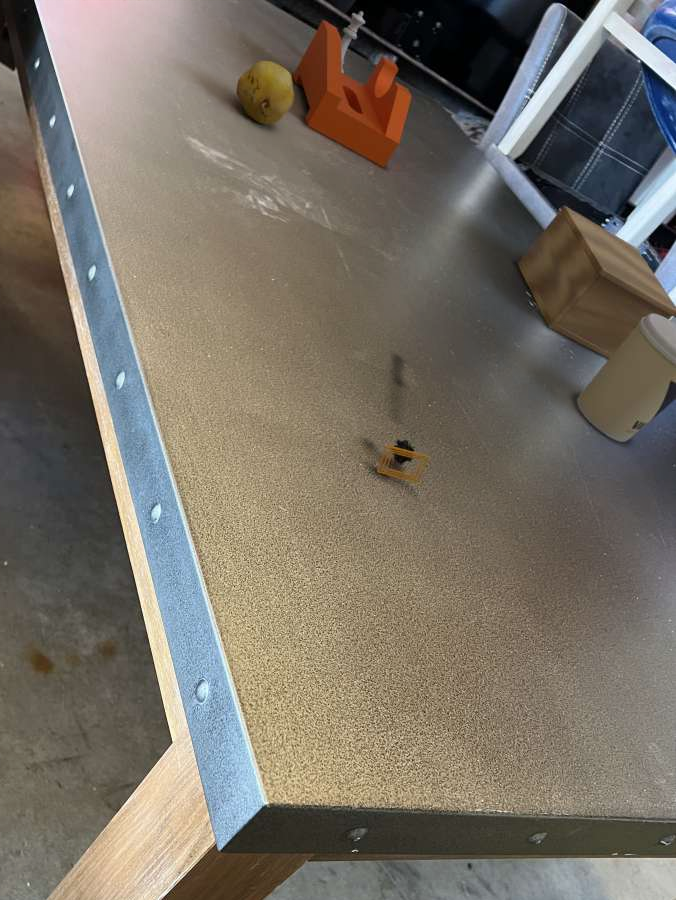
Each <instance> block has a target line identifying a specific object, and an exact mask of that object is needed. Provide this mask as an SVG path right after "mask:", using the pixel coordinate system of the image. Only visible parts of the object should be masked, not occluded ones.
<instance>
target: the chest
mask: <svg viewBox="0 0 676 900" xmlns="http://www.w3.org/2000/svg"><path fill="white" fill-rule="evenodd" d="M517 266H518V269H519V271H520V273H521V275H522V276H523V278H524V281H525V283H526V285H527V287H528V289H529V290H530V292H531V295H532V296H533V299H534V300H535V303H536V305H537V307H538V309H539V311H540V313H541V315H542V317H543V319H544V321H545V323H546V325H547V327H548V328H549V329H551V330H553V331H555V332H557V333H559V334H561V335H562V336H564V337H566V338H567V339H570V340H572V341H574V342H576V343H578V344H579V345H582V346H583V347H586V348H587V349H589V350H591V351H593V352H595V353H597V354H599V355H601V356H603V357H605V358H607V359H608V360H609V359H610V357H611V356H612V355H613V354H614V353H615V351H616V350H617V349H618V348H619V347H620V345H621V344H622V343H623V342H624V341H625V339H626V338H627V337H628V336H629V335H630V333H631V332H632V331H633V330H634V329H635V328H636V327H637V325H638V324H639V321H640V320H641V319H642V318H643V317H647V316H648V315H649V314H658V315H660V316H663V317H665V318H666V319H668V320H670V319H671V318H672V317H673V316H671V315H670V314H668V313H666V312H664V311H663V310H661V309H659V308H657V307H655V306H654V305H652V304H650V303H648V302H647V301H645V300H643V299H641V298H639V297H638V296H636V295H634V294H632V293H631V292H629V291H627V290H625V289H624V288H622V287H620V286H618V285H616V284H615V283H613V282H611V281H609V280H608V279H606V278H604V277H602V276H601V275H599V274H598V272H597V271H596V269H595V267H594V266H593V264H592V262H591V261H590V259H589V257H588V256H587V254H586V252H585V251H584V249H583V247H582V245H581V244H580V242H579V240H578V239H577V237H576V235H575V234H574V232H573V230H572V229H571V227H570V225H569V224H568V222H567V220H566V219H565V217H564V215H563V214H562V212H561V210H559V211H558V212H557V213H556V215H555V216H554V217H553V219H551V221H550V222H549V223H548V225H547V226H546V227H545V229H544V230H543V231H542V232H541V234H540V235H539V236H538V238H537V239H536V240H535V241H534V242H533V244H532V245H531V246H530V247H529V249H528V250H527V252H525V253H524V255H523V256H522V258H521V259H520V260H519V261H518V263H517Z"/></svg>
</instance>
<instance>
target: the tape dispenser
mask: <svg viewBox="0 0 676 900" xmlns="http://www.w3.org/2000/svg"><path fill="white" fill-rule="evenodd" d="M341 40H342V38H341V35H340V32H339V31H338V28H337V26H334V25H333V24H331V23H329V22H328V21H327V20H325V19H322V21H321V22H320V25H319V27H318V28H317V30H316V31H315V33H314V36H313V37H312V39H311V41H310V42H309V45H308V47H307V48H306V51H305V52H304V54H303V56H302V58H301V60H300V62H299V63H298V65H297V67H296V70H295V71H294V73H293V75H292V78H293V80H294V83H295V84H297V85H298V86H300V87H302V88H303V89H304V93H305V96H306V99H307V103H308V106H309V110H308V111H307V114H306V115H305V117H304V119H305V122H306V125H307V126H308V127H309V128H311V129H313V130H315V131H316V132H318V133H320V134H322V135H324V136H325V137H328V138H329V139H331V140H333V141H335V142H336V143H339V144H340V145H342V146H343V147H345V148H348V149H350V150H351V151H353V152H354V153H357V154H359V155H360V156H362V157H363V158H365V159H368V160H369V161H371V162H373V163H375V164H377V165H378V166H380V167H382V168H385V166H386V165H387V164H388V162H389V161H390V159H391V157H392V156H393V154H394V152H395V151H396V149H397V148H398V146H399V145H400V142H401V138H402V135H403V131H404V126H405V123H406V120H407V116H408V112H409V108H410V104H411V101H412V97H413V96H412V94H411V92H410V89H408V88H407V87H405V86H403V85H402V84H400V83H399V82H396V81H395V80H394V79H395V78H396V75H397V74H398V71H399V67H398V65H397V64H396V62H394V61H392V60H391V59H389V58H387V57H386V56H384V55H381V57H380V59H378V62H377V64H376V65H375V67H374V68H373V70H372V72H371V74H370V76H369V77H368V79H367V80H366V82H365V84H363V83H361V82H359V81H357V80H356V79H354V78H352V77H350V76H349V75H347V74H345V73H344V72H343V73H342V67H343V65H342V55H341ZM393 81H394V82H393Z"/></svg>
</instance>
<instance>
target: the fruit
mask: <svg viewBox="0 0 676 900" xmlns="http://www.w3.org/2000/svg"><path fill="white" fill-rule="evenodd" d="M236 95H237V97H238V100H239V101H240V103H241V105H242V108H243V110H244V111H245V113H246V115H247V116H249V117H250V118H251V119H253V120H254V121H256V122H257V123H259V124H261V125H268V126H269V125H273V124H275V123H277V122H279V121H281V119H282V118H283V117H284V116H285V115H286V114H287V113H288V112H289V110H290V109H291V108H292V106H293V104H294V100H295V93H294V87H293V76H292V74H291V72H290V71H289V70H287V69H286V68H285V67H283V66H281V65H280V64H278V63H276V62H273V61H270V60H261V61H259V62H256V63H255V64H254V65H253V66H252V67H250V68H249V69H248V70H246V71H244V73H243V74H242V75H241V76H240V77H239V78H238V80H237V82H236Z"/></svg>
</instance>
